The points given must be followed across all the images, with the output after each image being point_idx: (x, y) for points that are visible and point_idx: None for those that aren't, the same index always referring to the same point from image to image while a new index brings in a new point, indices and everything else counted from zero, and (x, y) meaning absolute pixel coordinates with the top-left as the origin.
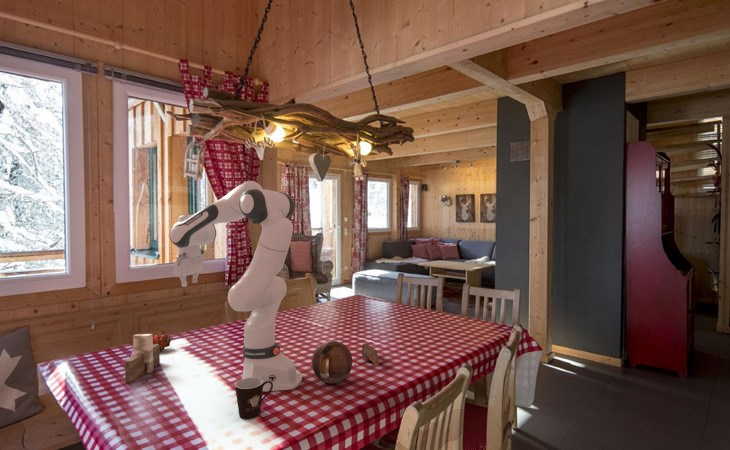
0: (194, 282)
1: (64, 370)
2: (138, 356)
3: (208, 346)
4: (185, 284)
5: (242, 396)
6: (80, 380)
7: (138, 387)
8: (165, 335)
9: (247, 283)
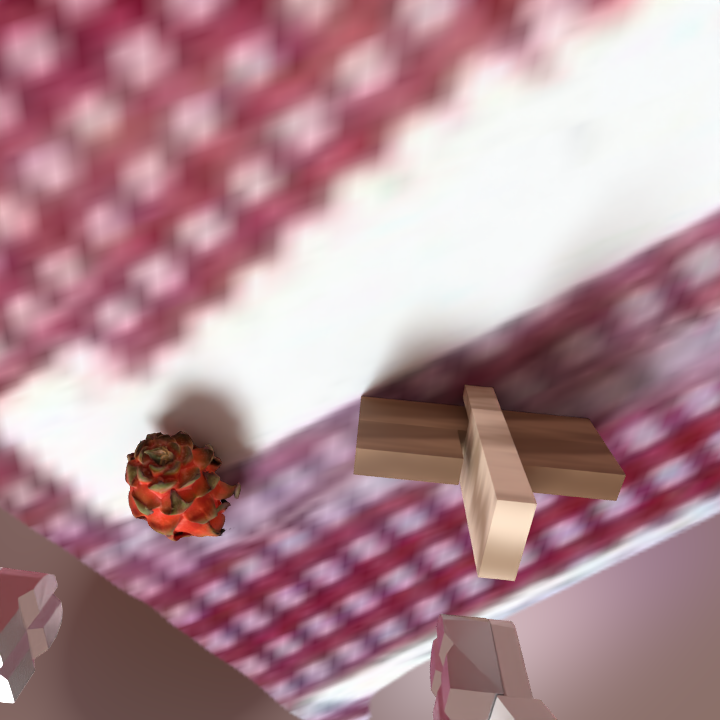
0: (53, 590)
1: (403, 667)
2: (554, 470)
3: (105, 233)
4: (521, 656)
5: None
6: (515, 589)
7: (658, 370)
8: (150, 479)
9: None
